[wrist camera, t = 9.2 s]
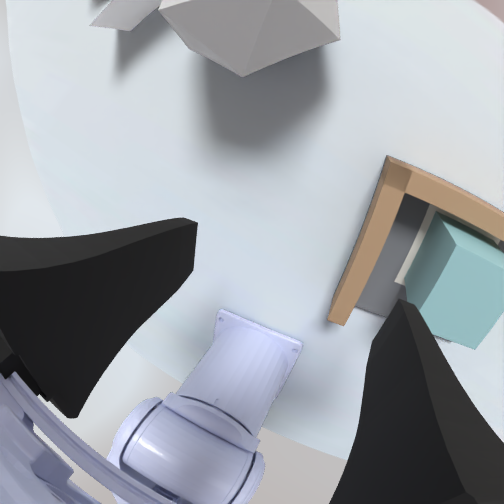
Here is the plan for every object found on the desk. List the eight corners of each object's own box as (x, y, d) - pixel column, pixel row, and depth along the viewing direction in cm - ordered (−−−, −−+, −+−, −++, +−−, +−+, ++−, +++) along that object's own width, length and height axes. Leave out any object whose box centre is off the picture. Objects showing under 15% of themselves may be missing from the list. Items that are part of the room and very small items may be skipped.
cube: (494, 240, 13) (523, 280, 9) (460, 300, 16) (474, 349, 12) (435, 210, 15) (456, 244, 10) (404, 277, 17) (409, 325, 13)
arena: (453, 339, 18) (458, 365, 15) (333, 294, 20) (327, 319, 18) (521, 223, 12) (540, 242, 10) (386, 155, 15) (390, 161, 12)
